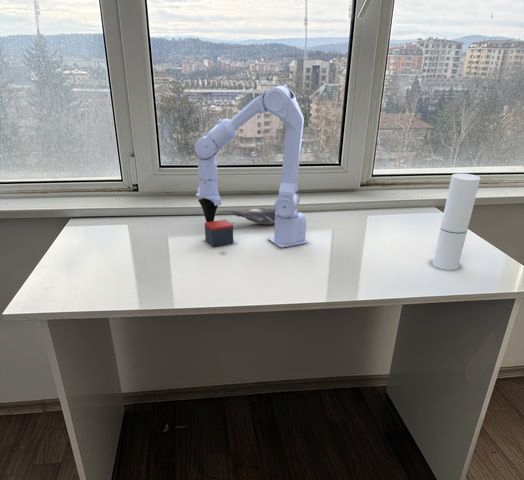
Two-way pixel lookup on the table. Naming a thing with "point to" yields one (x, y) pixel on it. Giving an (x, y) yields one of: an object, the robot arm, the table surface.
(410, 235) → the table surface
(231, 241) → the two-tone lidded box
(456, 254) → the cylindrical container
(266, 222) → the decorative bird
